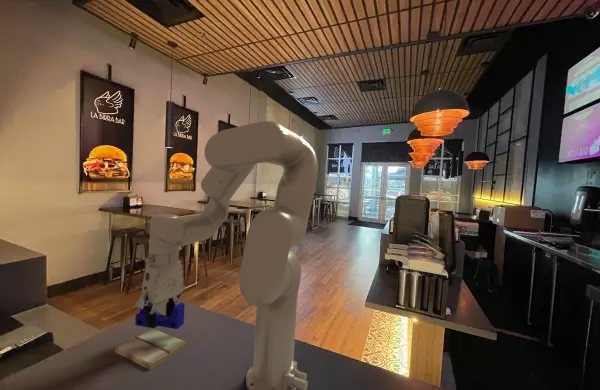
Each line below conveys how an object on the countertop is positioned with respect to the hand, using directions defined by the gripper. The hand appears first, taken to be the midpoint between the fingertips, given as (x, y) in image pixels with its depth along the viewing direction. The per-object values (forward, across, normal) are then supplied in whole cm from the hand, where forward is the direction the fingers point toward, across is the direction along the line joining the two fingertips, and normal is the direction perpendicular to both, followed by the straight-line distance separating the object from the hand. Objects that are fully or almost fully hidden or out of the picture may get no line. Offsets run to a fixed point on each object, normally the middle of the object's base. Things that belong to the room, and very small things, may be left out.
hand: (161, 320), depth 75 cm
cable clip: (+1, 0, 0) cm, 1 cm away
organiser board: (+7, -3, 0) cm, 7 cm away
